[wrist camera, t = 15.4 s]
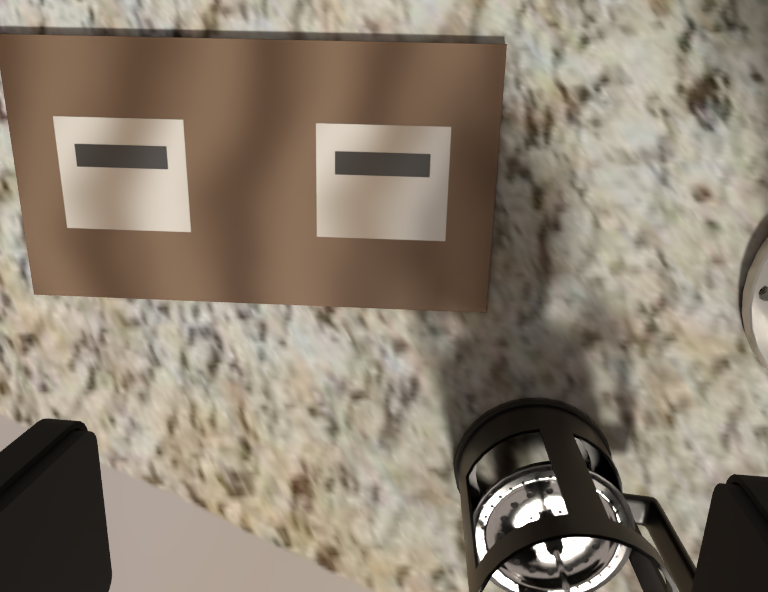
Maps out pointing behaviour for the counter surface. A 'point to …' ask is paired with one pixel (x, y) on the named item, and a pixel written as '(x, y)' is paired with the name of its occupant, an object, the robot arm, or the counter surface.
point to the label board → (257, 168)
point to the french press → (559, 511)
